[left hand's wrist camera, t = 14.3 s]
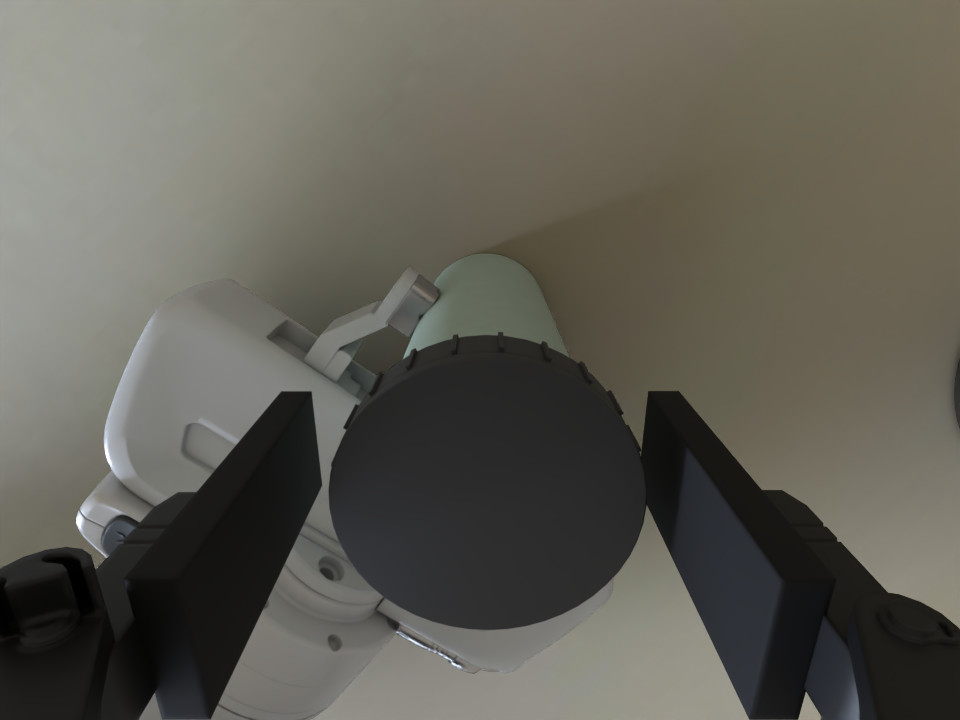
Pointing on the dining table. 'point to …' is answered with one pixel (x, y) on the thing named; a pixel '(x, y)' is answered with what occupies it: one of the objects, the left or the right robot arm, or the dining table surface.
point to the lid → (487, 484)
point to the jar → (487, 304)
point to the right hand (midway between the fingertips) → (499, 335)
